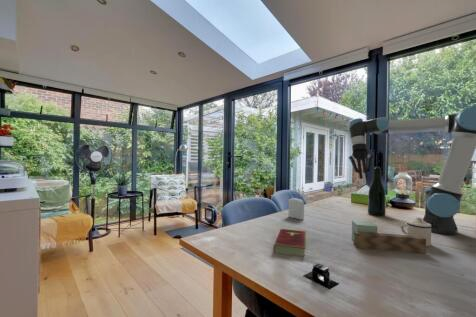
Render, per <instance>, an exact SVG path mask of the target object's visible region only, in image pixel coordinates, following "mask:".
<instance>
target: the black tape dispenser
mask: <svg viewBox="0 0 476 317" xmlns="http://www.w3.org/2000/svg"><path fill="white" fill-rule="evenodd" d="M311 270H312V271H310V272H307V273H306V274H304V275H302V277H304V278H305V279H308V280H309V281H312V282H314V283H315V284H317V285H320V286H322V287H324V288H326V290H327V289H328V290H331V289H334V288H336V286H339V285H340V283H339V282H337V281H335V280H334V279H333V280H332V279H331V278H330V272H331V271H330V268H329V267H328V266H325V265H323V264H321V263H316V264H313V266H312V269H311Z"/></svg>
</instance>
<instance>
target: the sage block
mask: <svg viewBox="0 0 476 317" xmlns="http://www.w3.org/2000/svg"><path fill="white" fill-rule="evenodd" d="M354 231H359V232H371V233H378V226H377V225H376V223H374V222H372V221H369V220H360V219H359V220H358V219H357V220H356V219H352V220H351V240H352V241H353V242H354Z"/></svg>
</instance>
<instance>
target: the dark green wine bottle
mask: <svg viewBox="0 0 476 317" xmlns="http://www.w3.org/2000/svg"><path fill="white" fill-rule="evenodd" d="M386 196H387V195H386V189H385V187H384V183H383V182H382V169H381V167H380V166H375V167H374V168H373V178H372V182H371V185H370V187H369V188H368V198H367V199H368V200H367V214H369V216H370V215H371V216H374V217H375V216H376V217H384V216H386V213H387V212H386V206H387V204H386Z"/></svg>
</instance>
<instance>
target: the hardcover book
mask: <svg viewBox="0 0 476 317" xmlns="http://www.w3.org/2000/svg"><path fill="white" fill-rule="evenodd" d="M306 234H307V232H306V231H304V230H299V229H297V230H296V229H288V228H280V229H279V232H278V235H277V237H276V240H275V242H274V245H273V253H276V254H283V255H290V256H291V255H292V256H297V257H305V249H306V242H307V241H306V237H307V236H306Z"/></svg>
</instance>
